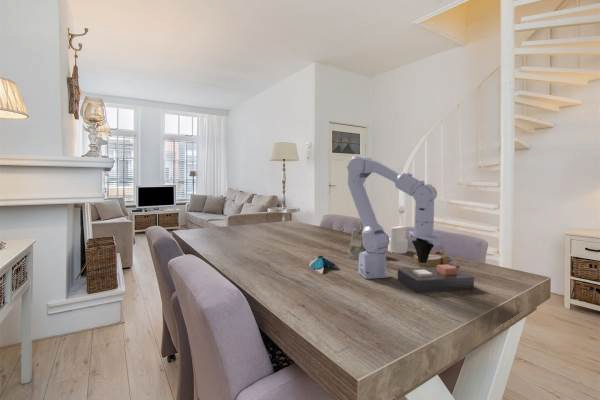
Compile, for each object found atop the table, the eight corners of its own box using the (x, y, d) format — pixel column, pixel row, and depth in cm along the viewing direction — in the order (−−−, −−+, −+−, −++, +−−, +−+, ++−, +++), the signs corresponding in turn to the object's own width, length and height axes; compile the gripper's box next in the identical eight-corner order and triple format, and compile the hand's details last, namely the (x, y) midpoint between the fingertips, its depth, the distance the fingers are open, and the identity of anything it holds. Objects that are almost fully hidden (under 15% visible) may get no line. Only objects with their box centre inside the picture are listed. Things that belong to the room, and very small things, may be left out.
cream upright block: (394, 248, 155) (395, 225, 154) (410, 251, 148) (411, 227, 147) (384, 250, 149) (385, 226, 148) (400, 254, 142) (401, 229, 141)
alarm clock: (409, 253, 133) (445, 248, 131) (411, 264, 133) (446, 259, 131) (417, 260, 121) (455, 255, 120) (419, 272, 122) (457, 267, 120)
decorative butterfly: (321, 254, 127) (338, 253, 119) (323, 270, 126) (340, 269, 118) (302, 258, 120) (319, 257, 113) (305, 274, 120) (322, 274, 112)
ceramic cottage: (341, 255, 138) (344, 223, 137) (362, 251, 149) (365, 221, 148) (370, 265, 127) (373, 230, 126) (390, 259, 138) (394, 227, 137)
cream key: (419, 283, 98) (420, 274, 97) (412, 278, 102) (412, 270, 102) (432, 282, 98) (432, 273, 98) (424, 278, 103) (424, 269, 103)
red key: (444, 277, 99) (445, 268, 99) (436, 273, 104) (436, 264, 103) (456, 276, 100) (457, 268, 100) (447, 272, 104) (448, 264, 104)
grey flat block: (417, 293, 93) (417, 280, 93) (397, 280, 105) (397, 269, 105) (473, 289, 97) (474, 277, 97) (448, 277, 109) (449, 266, 109)
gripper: (449, 224, 92) (448, 268, 93) (422, 218, 107) (420, 256, 108) (429, 225, 91) (427, 269, 92) (403, 218, 105) (402, 257, 106)
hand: (422, 262), depth 100 cm, fingers closed
